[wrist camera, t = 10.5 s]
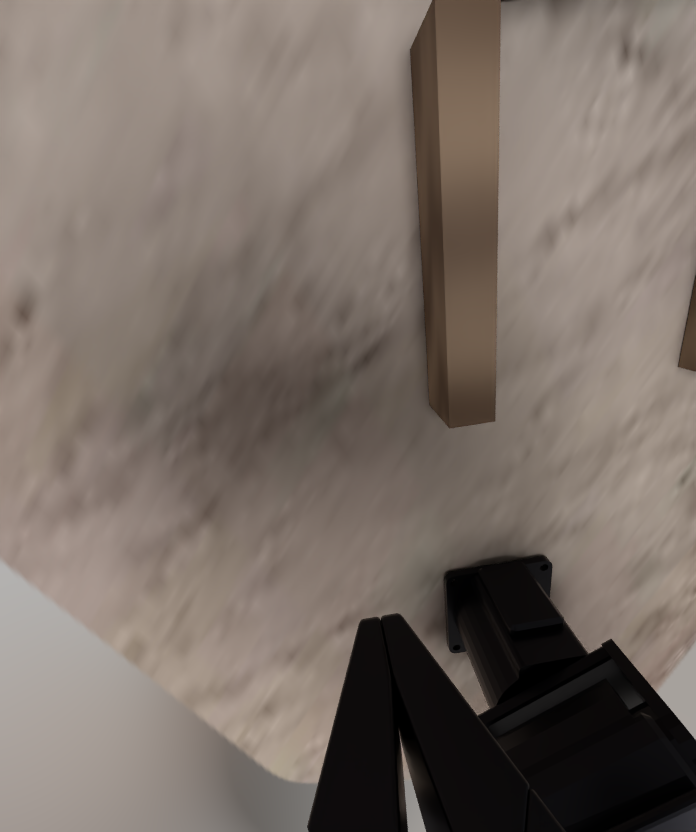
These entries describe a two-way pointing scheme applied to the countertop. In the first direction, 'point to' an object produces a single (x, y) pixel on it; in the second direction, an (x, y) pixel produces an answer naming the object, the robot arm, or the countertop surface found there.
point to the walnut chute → (464, 205)
